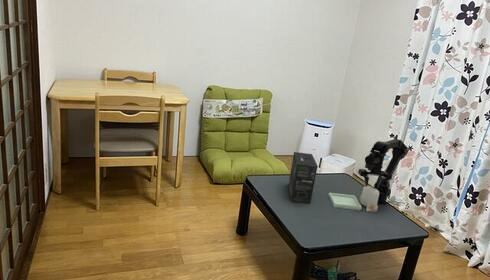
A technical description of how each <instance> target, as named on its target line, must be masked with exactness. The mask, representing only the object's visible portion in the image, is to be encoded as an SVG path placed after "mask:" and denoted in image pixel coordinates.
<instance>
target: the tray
mask: <svg viewBox="0 0 490 280" xmlns="http://www.w3.org/2000/svg"><path fill="white" fill-rule="evenodd" d="M328 198H329V201H330V202H331V204H332V207H333V208H336V209H342V210H351V211H362V208H363V207H362V204H361V203H360V201H359V200H358V198H357V197H356V196H355V195H352V194H343V193H335V192H328Z"/></svg>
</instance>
